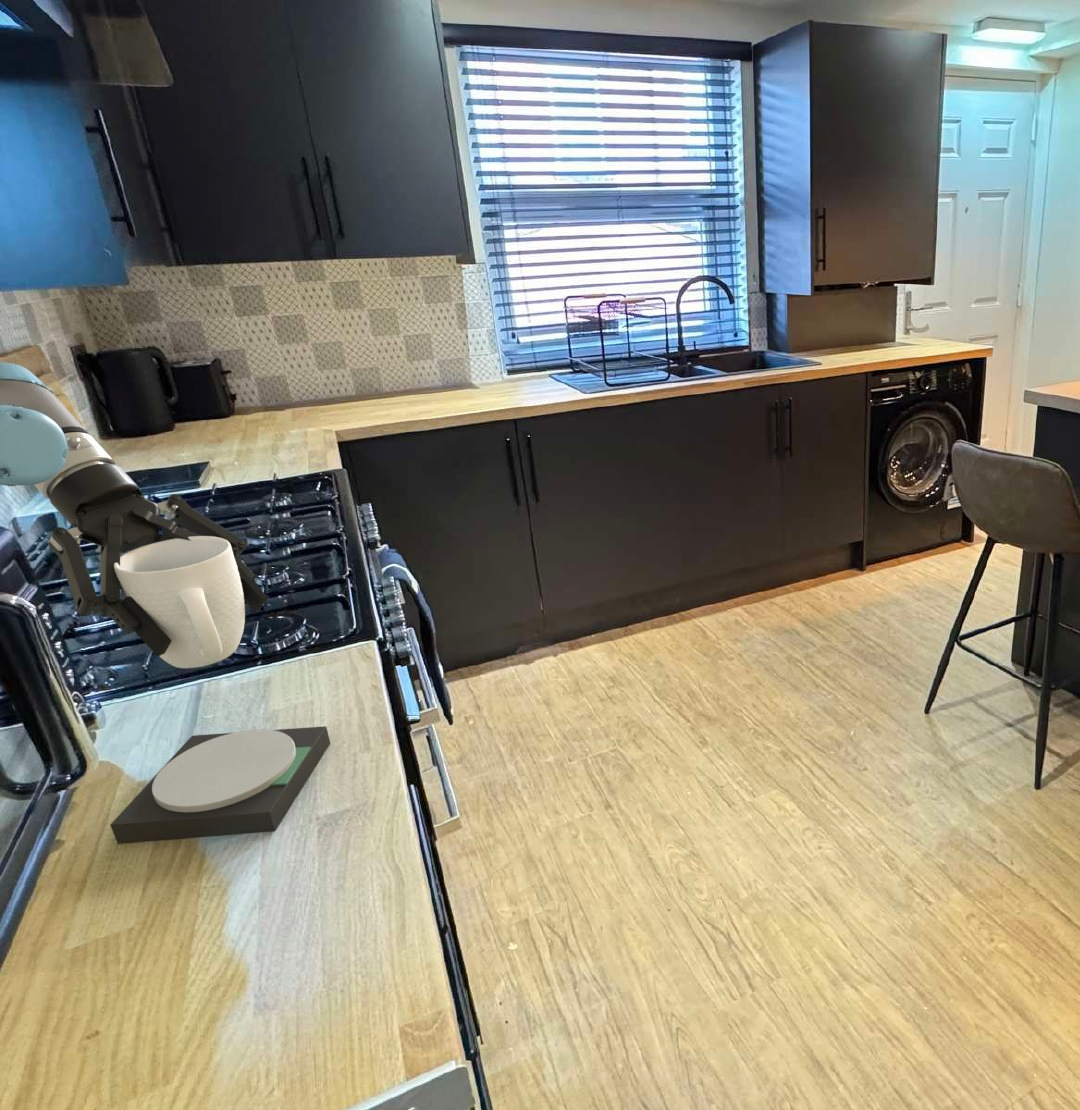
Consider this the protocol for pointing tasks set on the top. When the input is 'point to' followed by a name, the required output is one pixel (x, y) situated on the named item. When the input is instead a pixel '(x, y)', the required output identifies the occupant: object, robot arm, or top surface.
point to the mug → (188, 596)
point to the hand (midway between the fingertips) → (216, 625)
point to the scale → (224, 785)
